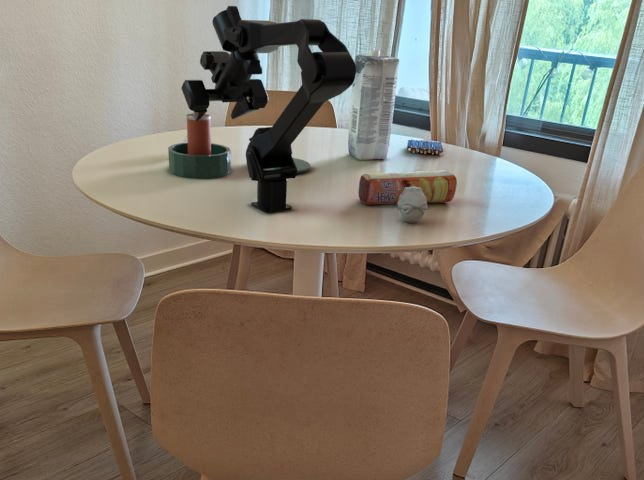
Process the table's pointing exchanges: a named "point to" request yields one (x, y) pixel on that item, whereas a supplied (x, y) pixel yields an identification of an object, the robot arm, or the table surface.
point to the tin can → (199, 135)
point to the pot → (199, 162)
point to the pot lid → (297, 165)
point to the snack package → (393, 184)
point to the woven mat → (425, 146)
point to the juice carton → (372, 106)
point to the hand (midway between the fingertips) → (214, 118)
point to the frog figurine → (412, 204)
